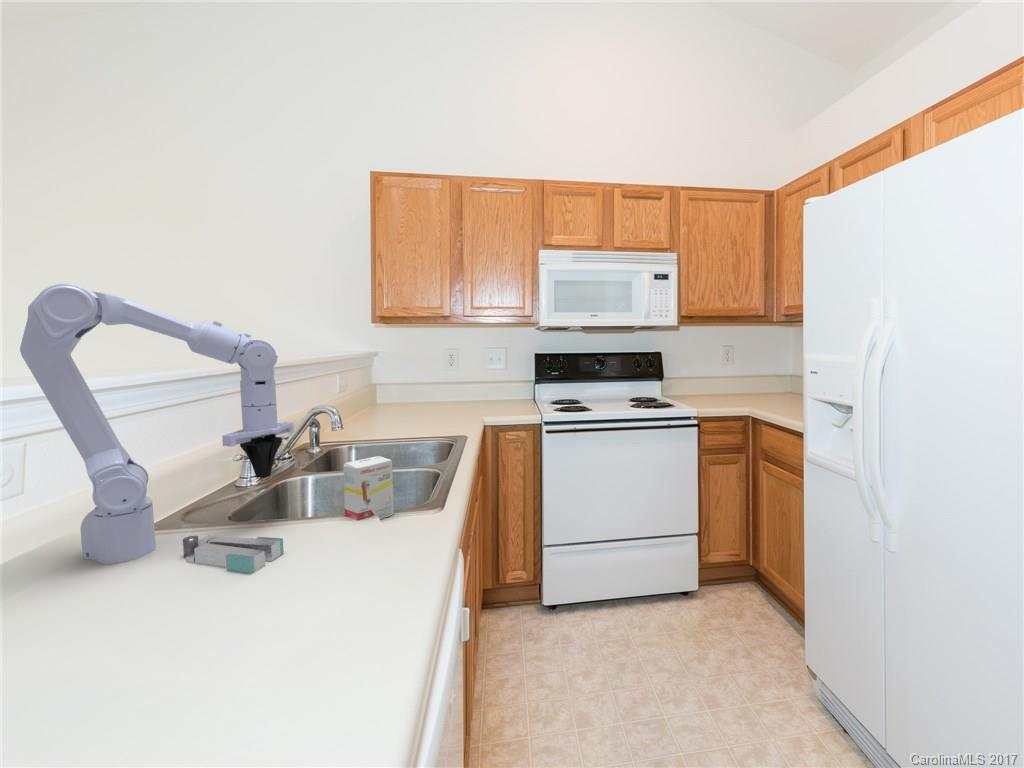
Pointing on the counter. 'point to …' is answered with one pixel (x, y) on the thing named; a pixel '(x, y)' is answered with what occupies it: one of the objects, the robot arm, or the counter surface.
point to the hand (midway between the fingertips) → (263, 476)
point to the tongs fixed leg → (223, 556)
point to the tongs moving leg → (249, 544)
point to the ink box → (368, 488)
